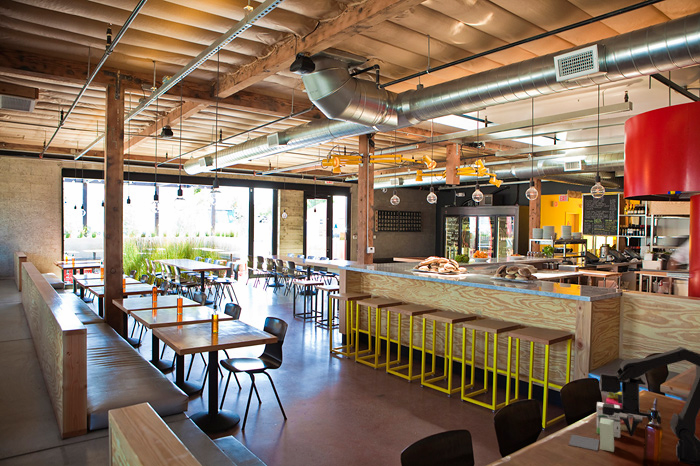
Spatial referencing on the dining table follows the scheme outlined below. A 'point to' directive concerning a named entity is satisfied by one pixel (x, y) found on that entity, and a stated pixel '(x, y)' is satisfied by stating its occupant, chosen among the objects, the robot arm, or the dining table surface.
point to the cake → (614, 400)
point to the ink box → (614, 417)
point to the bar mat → (584, 442)
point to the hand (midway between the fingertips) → (631, 435)
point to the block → (607, 434)
